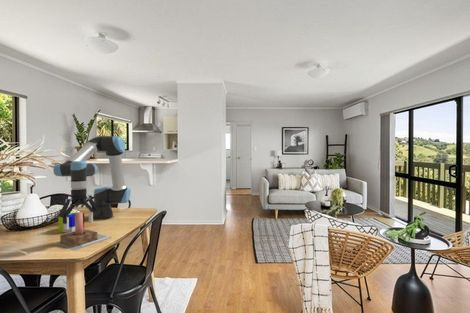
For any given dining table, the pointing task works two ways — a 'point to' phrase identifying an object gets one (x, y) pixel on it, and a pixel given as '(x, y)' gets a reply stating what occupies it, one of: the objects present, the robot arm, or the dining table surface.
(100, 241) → the mat
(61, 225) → the puzzle toy
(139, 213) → the dining table surface
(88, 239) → the brown wooden square block
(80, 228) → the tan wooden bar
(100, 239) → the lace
